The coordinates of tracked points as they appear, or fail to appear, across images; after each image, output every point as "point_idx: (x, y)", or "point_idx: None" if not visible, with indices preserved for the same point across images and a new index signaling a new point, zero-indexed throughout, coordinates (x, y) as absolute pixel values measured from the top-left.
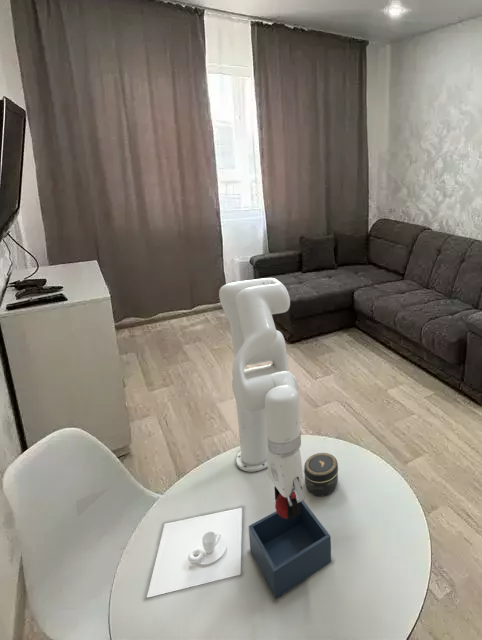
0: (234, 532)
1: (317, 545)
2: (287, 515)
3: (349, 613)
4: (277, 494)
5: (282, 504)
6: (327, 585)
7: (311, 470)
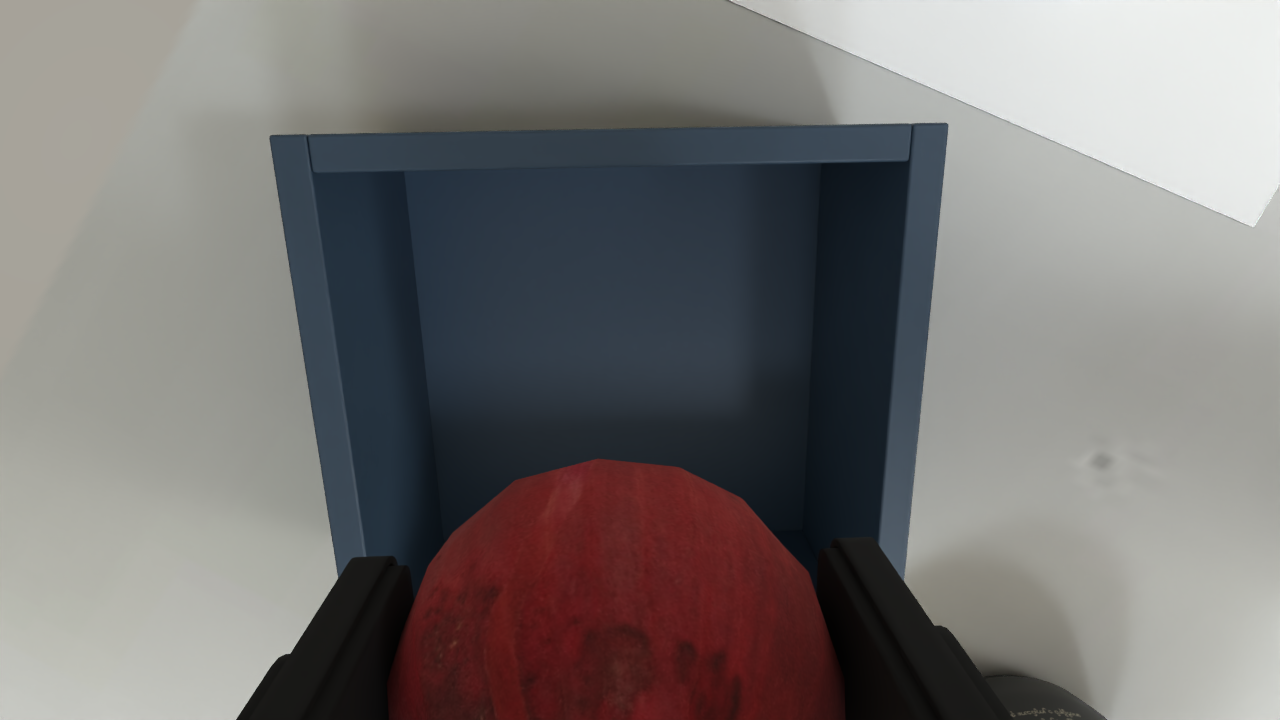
0: (1084, 87)
1: None
2: (371, 583)
3: (69, 484)
4: (864, 647)
5: (486, 655)
6: (295, 462)
7: None
